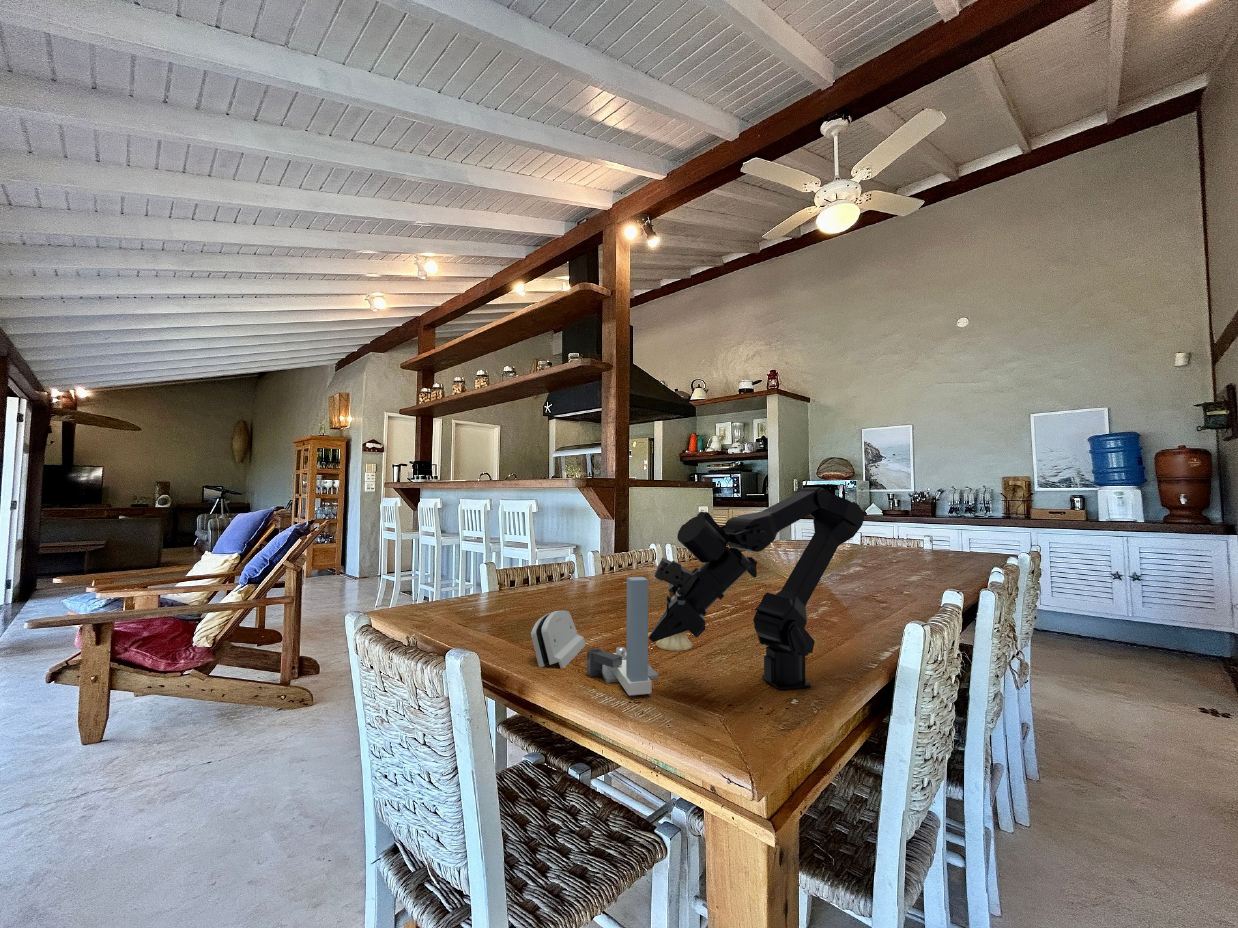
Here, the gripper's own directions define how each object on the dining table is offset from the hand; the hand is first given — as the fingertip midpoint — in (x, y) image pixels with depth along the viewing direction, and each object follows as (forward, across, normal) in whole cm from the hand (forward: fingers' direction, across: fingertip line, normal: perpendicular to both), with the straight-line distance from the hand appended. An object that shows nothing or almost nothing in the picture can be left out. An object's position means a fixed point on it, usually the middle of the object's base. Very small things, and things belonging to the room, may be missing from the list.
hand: (650, 639), depth 89 cm
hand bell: (+3, -28, +10) cm, 30 cm away
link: (+9, -5, +3) cm, 11 cm away
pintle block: (+11, -10, +2) cm, 15 cm away
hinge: (+21, -19, -7) cm, 29 cm away
